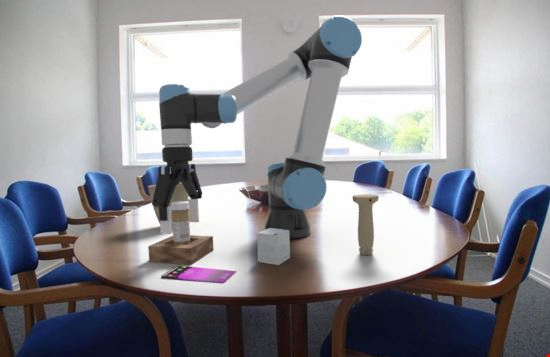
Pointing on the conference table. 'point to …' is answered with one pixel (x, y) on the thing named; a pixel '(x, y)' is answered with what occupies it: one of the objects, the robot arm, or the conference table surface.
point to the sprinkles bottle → (180, 222)
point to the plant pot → (178, 195)
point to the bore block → (181, 250)
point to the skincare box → (273, 246)
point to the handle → (365, 222)
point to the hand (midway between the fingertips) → (181, 227)
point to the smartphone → (198, 274)
